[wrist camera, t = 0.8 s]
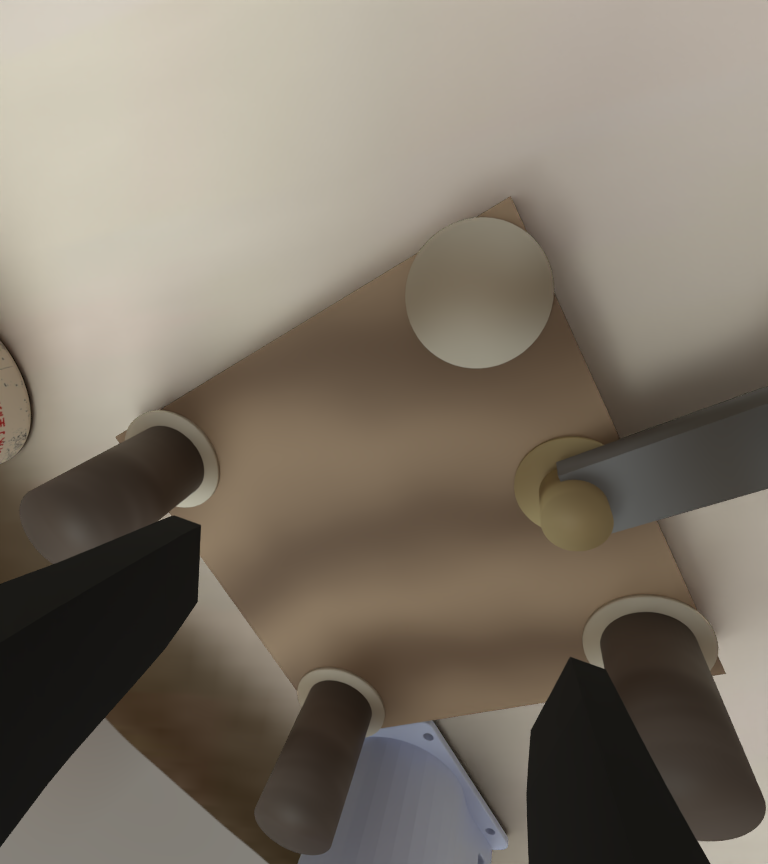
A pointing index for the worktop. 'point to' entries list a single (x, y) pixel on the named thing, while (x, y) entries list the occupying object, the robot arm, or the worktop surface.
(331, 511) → the peg board with pegs
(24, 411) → the teacup with lid
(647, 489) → the crank handle
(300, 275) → the worktop surface
